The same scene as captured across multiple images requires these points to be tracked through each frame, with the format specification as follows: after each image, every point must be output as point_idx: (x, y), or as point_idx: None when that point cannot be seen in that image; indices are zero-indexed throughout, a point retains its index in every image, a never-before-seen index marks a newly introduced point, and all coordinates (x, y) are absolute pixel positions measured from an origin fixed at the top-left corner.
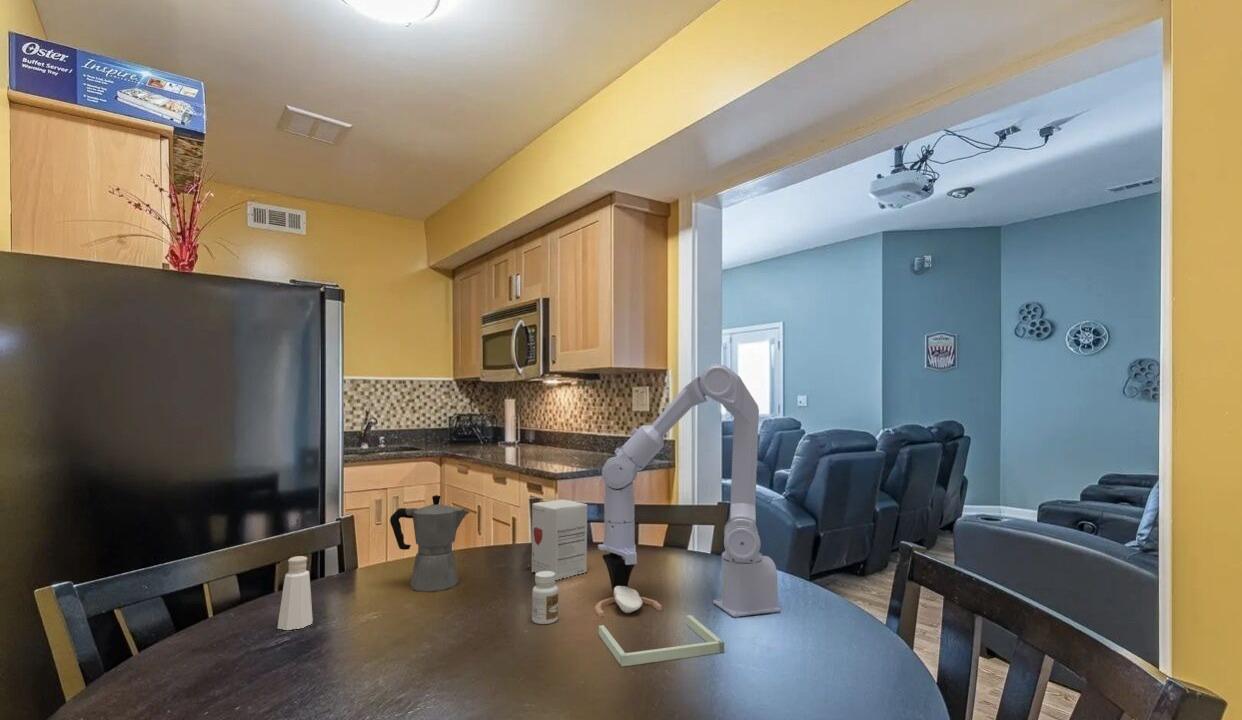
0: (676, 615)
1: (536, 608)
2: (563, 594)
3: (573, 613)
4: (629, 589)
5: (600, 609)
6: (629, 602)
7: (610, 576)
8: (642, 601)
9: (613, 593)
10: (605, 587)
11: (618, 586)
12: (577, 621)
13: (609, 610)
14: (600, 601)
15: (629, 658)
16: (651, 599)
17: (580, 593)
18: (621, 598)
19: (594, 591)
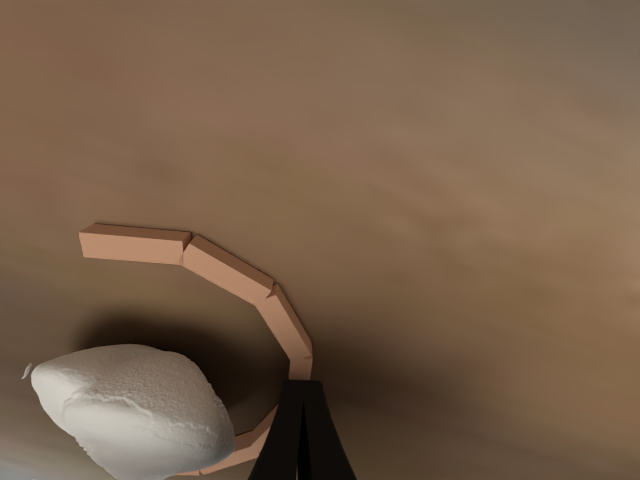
0: (74, 473)
1: None
2: (553, 164)
3: (192, 101)
4: (118, 471)
5: (136, 256)
6: (43, 403)
7: (320, 471)
8: (244, 436)
9: (313, 382)
10: (502, 379)
11: (152, 446)
12: (33, 71)
13: (189, 299)
14: (270, 297)
15: None
16: (221, 468)
17: (502, 258)
18: (46, 392)
19: (484, 325)
